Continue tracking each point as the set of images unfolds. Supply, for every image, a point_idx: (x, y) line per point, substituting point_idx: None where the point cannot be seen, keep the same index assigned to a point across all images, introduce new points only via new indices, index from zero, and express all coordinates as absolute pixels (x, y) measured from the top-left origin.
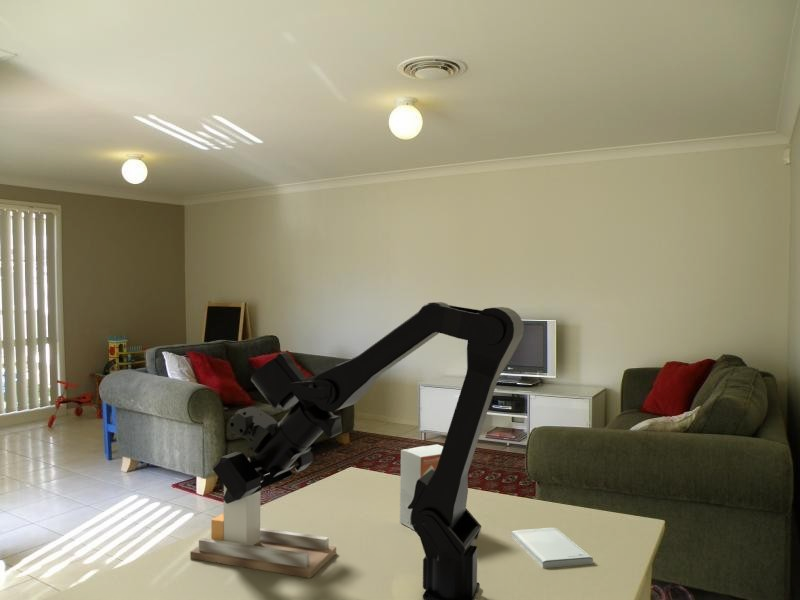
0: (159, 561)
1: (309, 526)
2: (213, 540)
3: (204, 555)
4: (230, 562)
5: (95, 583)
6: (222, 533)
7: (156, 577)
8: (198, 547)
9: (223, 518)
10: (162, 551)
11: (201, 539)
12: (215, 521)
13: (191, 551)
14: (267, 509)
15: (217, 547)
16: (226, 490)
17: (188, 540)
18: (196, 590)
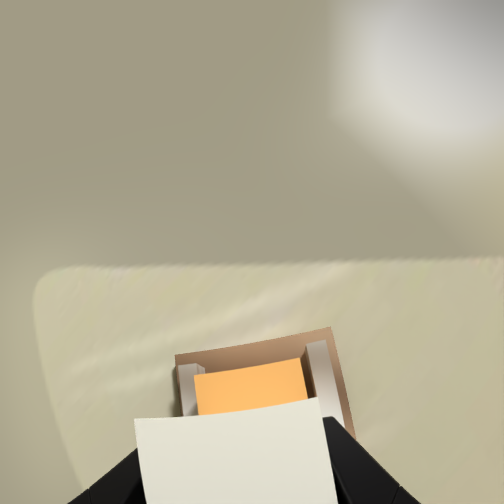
0: (143, 309)
1: (490, 446)
2: (194, 404)
3: (179, 397)
4: None
5: (54, 284)
6: None
7: (89, 359)
8: (203, 354)
9: (223, 404)
10: (185, 274)
11: (185, 367)
12: (196, 391)
13: (176, 356)
14: (499, 276)
15: None
16: (123, 460)
17: (261, 273)
18: (81, 464)
